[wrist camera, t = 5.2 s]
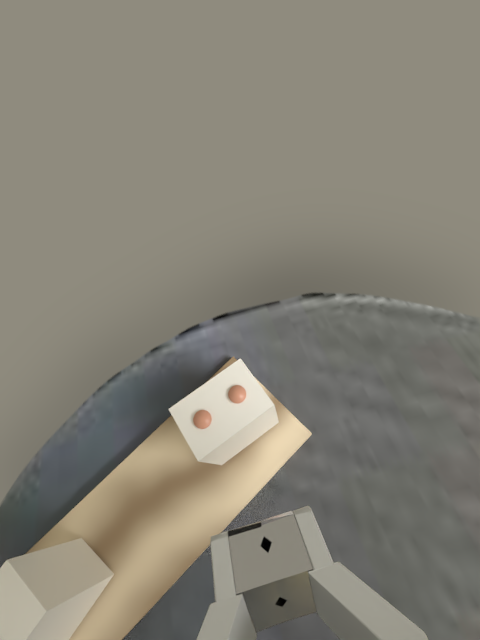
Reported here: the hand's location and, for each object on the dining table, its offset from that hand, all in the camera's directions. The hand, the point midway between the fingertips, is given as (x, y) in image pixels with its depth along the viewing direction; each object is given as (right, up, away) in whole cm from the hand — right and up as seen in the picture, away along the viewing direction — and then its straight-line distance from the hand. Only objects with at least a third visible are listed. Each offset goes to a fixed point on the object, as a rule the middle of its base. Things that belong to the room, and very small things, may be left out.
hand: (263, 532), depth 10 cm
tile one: (-14, -15, +16) cm, 26 cm away
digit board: (-7, -9, +19) cm, 23 cm away
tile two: (-1, -3, +20) cm, 20 cm away
